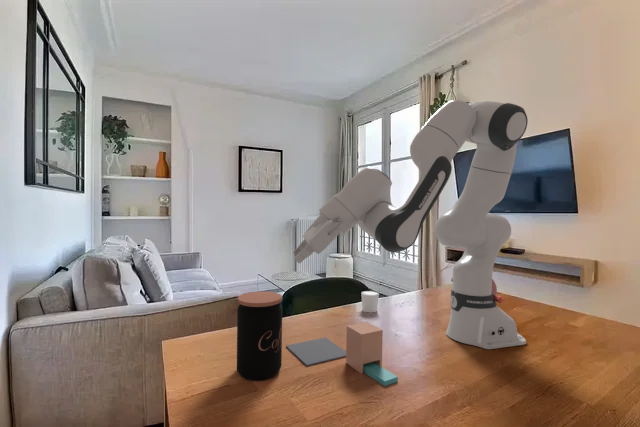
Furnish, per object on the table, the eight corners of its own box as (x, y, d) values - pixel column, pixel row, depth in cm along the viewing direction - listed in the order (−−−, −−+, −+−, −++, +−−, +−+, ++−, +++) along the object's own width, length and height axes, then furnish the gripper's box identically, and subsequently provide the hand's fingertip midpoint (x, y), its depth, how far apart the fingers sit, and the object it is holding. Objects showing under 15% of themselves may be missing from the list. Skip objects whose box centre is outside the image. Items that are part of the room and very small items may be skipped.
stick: (364, 362, 86) (364, 356, 86) (397, 383, 76) (397, 376, 76) (351, 366, 84) (351, 359, 84) (384, 388, 74) (384, 381, 73)
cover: (366, 357, 87) (366, 322, 87) (381, 368, 82) (382, 330, 82) (346, 362, 84) (346, 325, 84) (360, 373, 79) (361, 334, 79)
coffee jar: (260, 387, 72) (261, 305, 72) (226, 373, 78) (227, 298, 77) (290, 368, 81) (291, 295, 81) (257, 357, 87) (258, 289, 87)
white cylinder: (378, 314, 124) (378, 295, 124) (360, 312, 126) (360, 294, 125) (378, 308, 131) (379, 291, 131) (361, 307, 132) (361, 290, 132)
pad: (325, 338, 100) (325, 337, 100) (349, 355, 88) (349, 354, 88) (286, 346, 93) (286, 345, 93) (306, 366, 82) (306, 364, 82)
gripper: (353, 230, 71) (307, 275, 70) (338, 225, 91) (302, 260, 90) (333, 209, 70) (286, 254, 69) (322, 208, 91) (286, 244, 90)
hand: (295, 257), depth 80 cm, fingers open, 8 cm apart
